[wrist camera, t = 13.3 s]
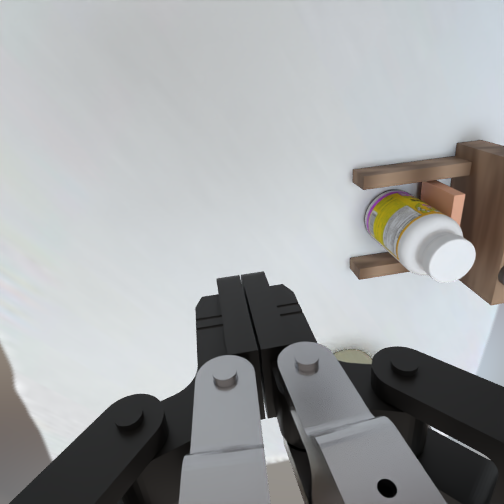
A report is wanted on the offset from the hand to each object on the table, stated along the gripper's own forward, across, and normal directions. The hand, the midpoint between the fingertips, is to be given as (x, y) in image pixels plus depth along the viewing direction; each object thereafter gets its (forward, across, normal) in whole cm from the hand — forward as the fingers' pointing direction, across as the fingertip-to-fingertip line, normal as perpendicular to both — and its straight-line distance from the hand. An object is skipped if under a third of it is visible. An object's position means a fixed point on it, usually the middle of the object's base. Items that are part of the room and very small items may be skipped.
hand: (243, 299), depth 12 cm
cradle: (+31, +24, -12) cm, 41 cm away
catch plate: (+30, +25, -12) cm, 41 cm away
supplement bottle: (+31, +21, -12) cm, 40 cm away
